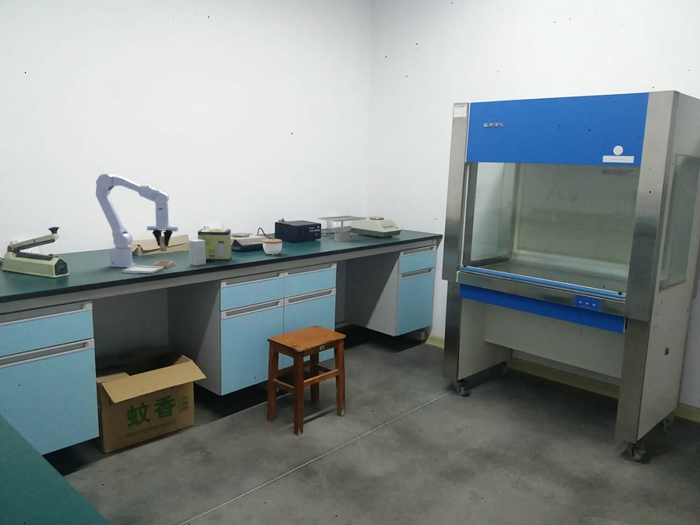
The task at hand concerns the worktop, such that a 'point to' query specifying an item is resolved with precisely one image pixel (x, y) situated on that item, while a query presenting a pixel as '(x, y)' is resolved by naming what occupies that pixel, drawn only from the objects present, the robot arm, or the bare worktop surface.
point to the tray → (142, 269)
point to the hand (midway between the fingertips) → (163, 245)
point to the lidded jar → (272, 246)
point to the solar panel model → (342, 235)
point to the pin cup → (164, 263)
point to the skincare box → (197, 252)
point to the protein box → (216, 244)
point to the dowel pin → (162, 244)
